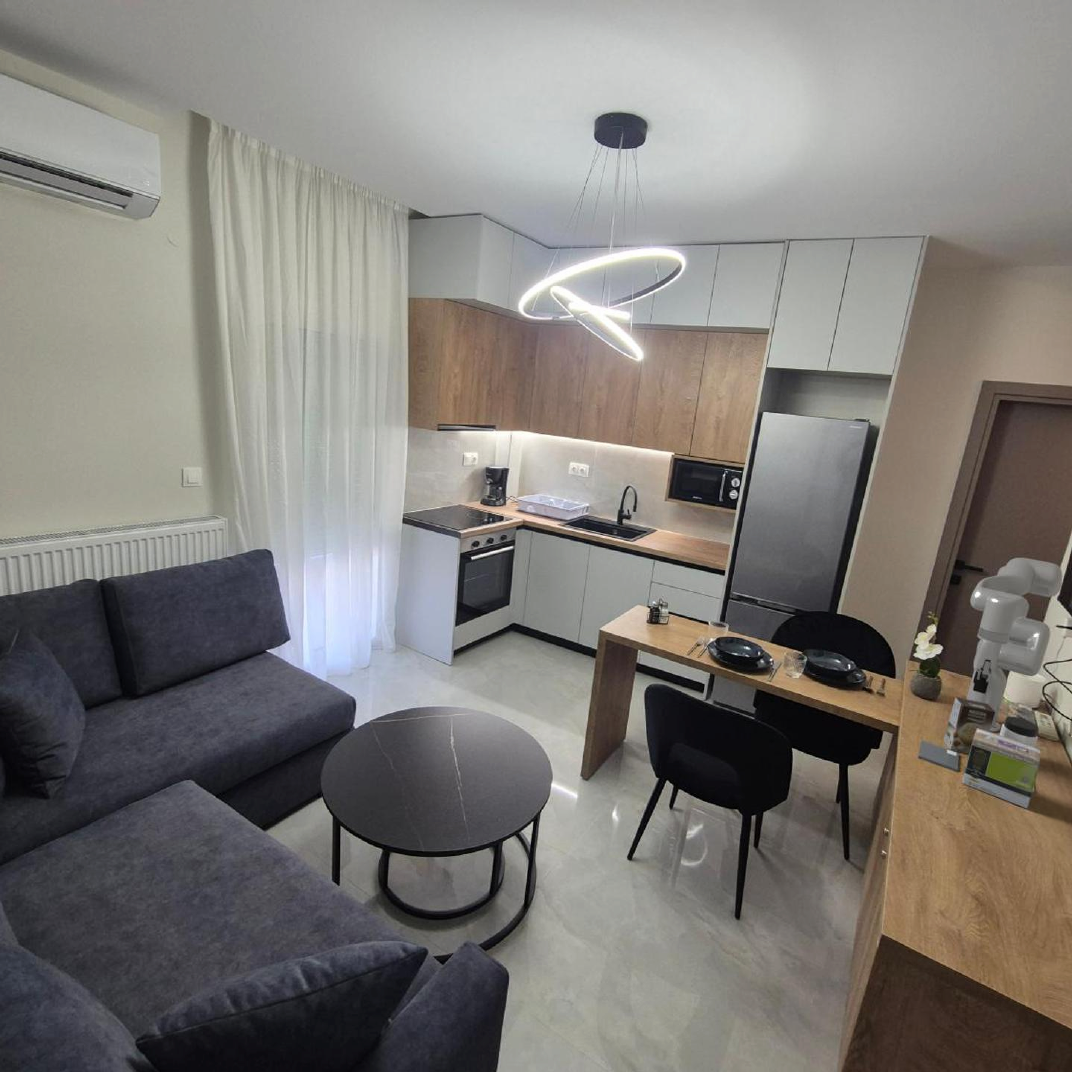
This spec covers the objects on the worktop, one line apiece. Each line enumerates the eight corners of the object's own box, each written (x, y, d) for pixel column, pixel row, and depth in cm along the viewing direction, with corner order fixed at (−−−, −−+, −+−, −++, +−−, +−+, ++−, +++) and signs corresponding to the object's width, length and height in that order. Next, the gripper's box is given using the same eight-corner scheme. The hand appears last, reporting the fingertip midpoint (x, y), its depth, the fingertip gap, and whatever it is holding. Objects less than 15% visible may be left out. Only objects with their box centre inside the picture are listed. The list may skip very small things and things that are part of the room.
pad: (921, 742, 187) (921, 740, 187) (958, 755, 182) (958, 752, 181) (918, 757, 178) (918, 755, 178) (957, 771, 172) (957, 769, 172)
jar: (1033, 759, 183) (1043, 725, 180) (1027, 767, 178) (1037, 733, 175) (998, 745, 190) (1007, 713, 187) (992, 753, 184) (1001, 720, 182)
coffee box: (949, 750, 184) (961, 705, 181) (942, 740, 190) (954, 696, 187) (983, 757, 181) (995, 712, 178) (975, 747, 187) (987, 702, 184)
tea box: (1029, 794, 164) (1043, 748, 161) (1027, 810, 157) (1041, 762, 153) (965, 769, 174) (977, 726, 171) (960, 783, 166) (973, 738, 163)
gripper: (978, 625, 186) (964, 675, 190) (978, 639, 173) (964, 693, 177) (1007, 632, 182) (993, 683, 186) (1009, 646, 168) (994, 701, 172)
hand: (979, 687), depth 181 cm, fingers open, 6 cm apart
